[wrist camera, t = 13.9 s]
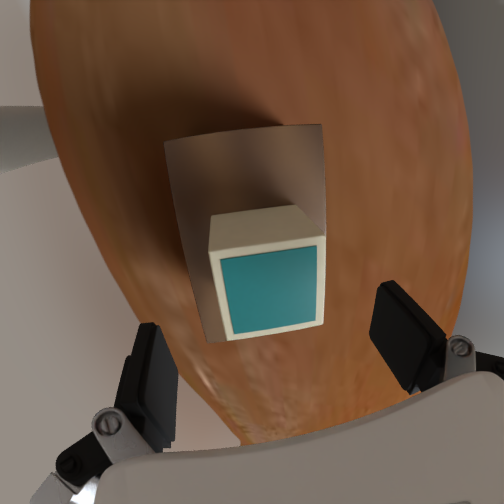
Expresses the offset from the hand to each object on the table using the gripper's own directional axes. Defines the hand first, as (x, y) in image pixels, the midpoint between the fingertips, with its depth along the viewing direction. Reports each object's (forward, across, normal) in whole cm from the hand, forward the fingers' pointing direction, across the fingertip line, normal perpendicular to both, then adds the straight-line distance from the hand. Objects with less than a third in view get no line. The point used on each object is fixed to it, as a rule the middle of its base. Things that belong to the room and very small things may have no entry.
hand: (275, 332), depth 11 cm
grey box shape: (+19, -1, 0) cm, 19 cm away
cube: (+9, -1, 0) cm, 9 cm away
